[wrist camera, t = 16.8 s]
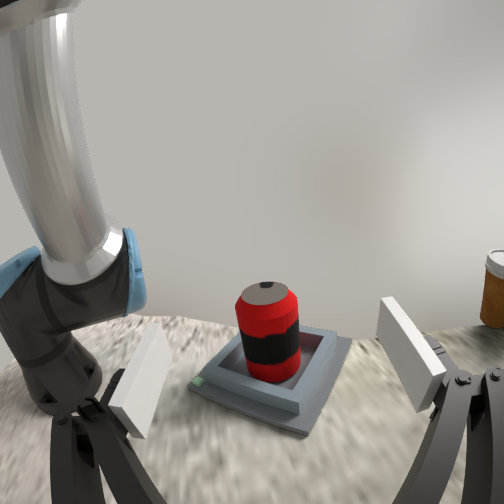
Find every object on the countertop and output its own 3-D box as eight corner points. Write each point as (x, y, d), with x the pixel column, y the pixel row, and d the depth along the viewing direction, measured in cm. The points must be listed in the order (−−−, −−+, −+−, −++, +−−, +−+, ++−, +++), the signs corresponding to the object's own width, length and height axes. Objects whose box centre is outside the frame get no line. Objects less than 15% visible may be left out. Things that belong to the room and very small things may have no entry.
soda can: (300, 346, 40) (295, 276, 35) (301, 382, 32) (297, 307, 28) (251, 349, 41) (238, 280, 37) (244, 384, 34) (227, 311, 30)
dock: (188, 389, 35) (181, 372, 34) (253, 324, 49) (250, 308, 48) (308, 436, 25) (308, 420, 24) (351, 343, 39) (353, 325, 38)
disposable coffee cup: (517, 334, 28) (537, 271, 23) (476, 332, 33) (493, 268, 29) (506, 306, 35) (520, 250, 31) (469, 303, 40) (480, 246, 36)
